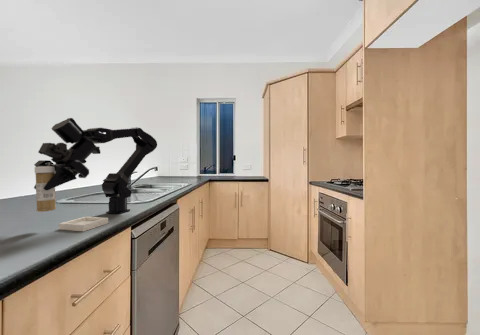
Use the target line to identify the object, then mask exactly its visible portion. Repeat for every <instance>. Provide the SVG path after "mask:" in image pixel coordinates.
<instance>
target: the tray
mask: <svg viewBox="0 0 480 335" xmlns="http://www.w3.org/2000/svg"><path fill="white" fill-rule="evenodd" d="M107 224H109V217H103V216H102V217H99V216H83V217H78V218H76V219H72V220H68V221H67V220H66V221H63V222H60V223H58V230H60V231H61V230H62V231H74V232H75V231H77V232H86V231H89V230H92V229H94V228H98V227H100V226H101V227H102V226H104V225H107Z"/></svg>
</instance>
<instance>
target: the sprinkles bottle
mask: <svg viewBox="0 0 480 335" xmlns="http://www.w3.org/2000/svg"><path fill="white" fill-rule="evenodd" d="M54 172H55V167H53V166H41V167H36V166H35V167H34V174H35V185H36V189H35V194H36V196H35V198H36V199H35V200H36V212H38V213H39V212H41V213H43V212H50V211H54V210H57V206H56V187H54V188H52V189H50V190H45V189H43V188H44V187H45V185H46V184H47V183H48V181H49V180H50V179H51V178H52V177H53V176H54V174H55V173H54Z"/></svg>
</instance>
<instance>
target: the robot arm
mask: <svg viewBox="0 0 480 335" xmlns="http://www.w3.org/2000/svg"><path fill="white" fill-rule="evenodd" d="M51 130H52V131H53V132H54V133H55V134H56V136H58V137H59V138H61V140H62V141H63V142H58V143H52V142H43V143H42V144H41V146H40V148H39V150H38V154H40V155H43V156H44V155H45V157H46V156H47V157H49V158H51V159H50V160H49V159H48V160H40V159H39V160H37V162H35V163H34V164H33V165H34V166H35V167H41V166H53V167H55V172H54V173H55V174H54V176H53V177H52V178H51V179H50V180H49V181H48V183H47V184H46V185H45V187H44V188H43V189H45V190H50V189H52V188H54V187H55V188H56V187H59V186H61V185H64V184H66V183H69V182H71V181H74V180H77V177H76V176H78V178H79V179H86V178H87V177H88V176H89V175H90V169H89V168H88V167H87V166H86V165H85V164H86V163H87V158H88V157H90V155H92V154H93V155H99V154H101V148H100V146H97V144H106V143H110V142H112V141H113V140H116V139H126V138H132V141H133V143H134V144H135V150H134V151H133V153H132V154H131V155H130V156H129V157H128V158H127V159H126V161H125V162H124V163H123V165H122V166H121V167H120V168H119V169H118V171H117V172H115V173H114V172H113V173H112V172H110V173H108V175H107V176H106V177H105V178H104V179H103V180H102V184H101V189H102V191H103V193H104V196H105V198H108V199H109V200H108V211H105V214H117V215H118V214H120V215H121V214H123V213H126V211H127V212H129V211H131V209H130V208H129V209H128V198H130V197H132V196H131V195H132V193H133V192H132V190H130V188H129V187H128V185H129V178H130V177H131V176H132V174H133V173H134V172H135V170H136V169H137V168H138V166H139V164H141V162H143V160H144V158H145V157H146V156H147V155H149V154H151V153H152V152H154V151H155V150H156V149H157V147H158V141H157V140H156V138H155V137H153V136H152V135H151V134H150V133H147V132H145V131H144V130H143V129H142V128H141V127H137V126H136V127H131V128H121V129H120V128H119V129H113V128H112V129H111V128H108V127H94V128H93V127H92V128H87V129H82V128H81V126H79V124H77V122H76V121H75V119H74V118H73V117H67V118H66V119H65V120H62V121H60V122H58V123H55V124H54V125H53V126H52V127H51ZM68 144H72V145H71V146H70V147H69V148H68ZM95 144H96V145H95ZM33 189H34V190H36V184H35V185H34V187H33Z"/></svg>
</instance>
